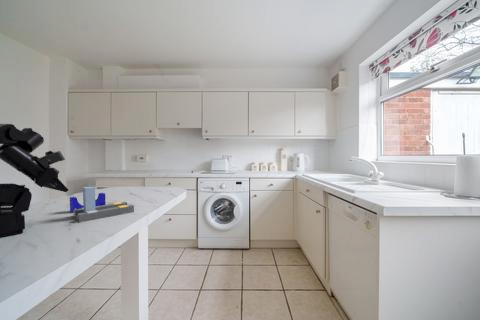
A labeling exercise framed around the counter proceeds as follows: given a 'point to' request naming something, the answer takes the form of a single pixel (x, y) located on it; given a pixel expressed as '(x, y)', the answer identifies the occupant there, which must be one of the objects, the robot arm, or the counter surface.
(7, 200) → the robot arm
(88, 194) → the tab
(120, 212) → the switch housing
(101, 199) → the cable clip
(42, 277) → the counter surface
